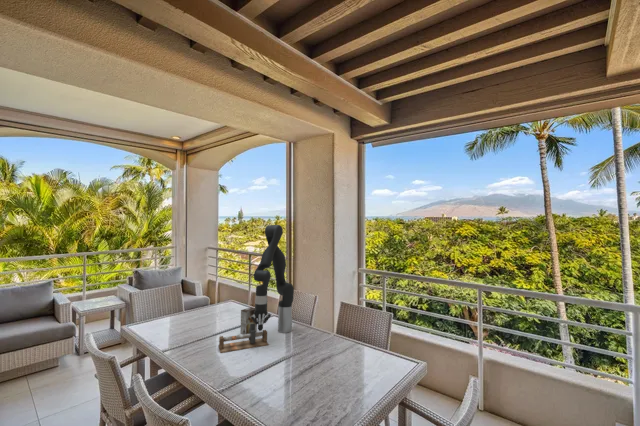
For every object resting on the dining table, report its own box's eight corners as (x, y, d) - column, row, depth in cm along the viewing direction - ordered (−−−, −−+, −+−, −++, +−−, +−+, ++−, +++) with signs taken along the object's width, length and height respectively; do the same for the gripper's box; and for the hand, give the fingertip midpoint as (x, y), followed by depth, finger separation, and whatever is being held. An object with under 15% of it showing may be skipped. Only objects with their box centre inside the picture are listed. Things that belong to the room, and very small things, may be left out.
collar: (252, 338, 178) (253, 322, 178) (255, 342, 172) (255, 326, 172) (248, 339, 177) (249, 323, 177) (251, 343, 170) (251, 326, 171)
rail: (264, 339, 182) (264, 328, 183) (268, 345, 174) (268, 333, 174) (218, 346, 170) (218, 334, 170) (220, 353, 161) (221, 340, 161)
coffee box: (250, 330, 198) (251, 306, 198) (256, 332, 194) (257, 308, 194) (239, 333, 190) (240, 309, 191) (245, 336, 186) (246, 311, 187)
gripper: (269, 299, 184) (268, 327, 183) (249, 301, 178) (248, 329, 177) (273, 302, 177) (272, 330, 176) (252, 304, 171) (250, 334, 170)
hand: (260, 330), depth 176 cm, fingers closed
